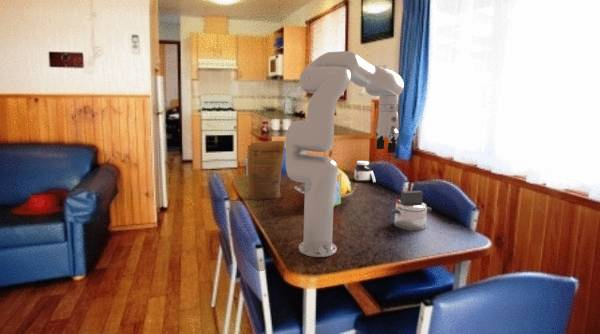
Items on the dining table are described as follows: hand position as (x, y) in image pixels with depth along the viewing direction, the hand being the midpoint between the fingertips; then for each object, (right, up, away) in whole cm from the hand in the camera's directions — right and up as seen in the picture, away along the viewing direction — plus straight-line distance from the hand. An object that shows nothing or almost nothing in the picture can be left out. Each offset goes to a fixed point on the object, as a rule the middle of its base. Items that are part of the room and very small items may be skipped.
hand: (385, 150), depth 167 cm
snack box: (-25, -25, +17) cm, 39 cm away
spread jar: (+3, -15, +71) cm, 73 cm away
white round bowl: (+9, -23, -6) cm, 25 cm away
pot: (+9, -30, -5) cm, 32 cm away
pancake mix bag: (-52, -22, +30) cm, 64 cm away
